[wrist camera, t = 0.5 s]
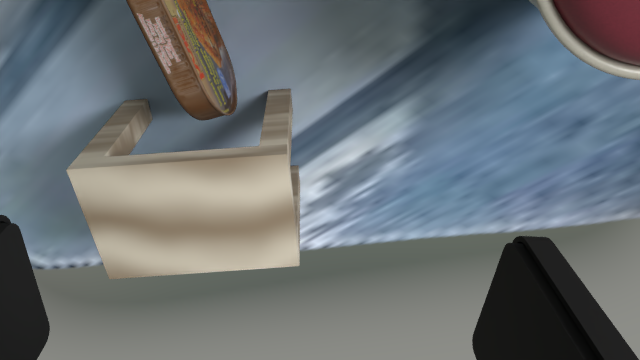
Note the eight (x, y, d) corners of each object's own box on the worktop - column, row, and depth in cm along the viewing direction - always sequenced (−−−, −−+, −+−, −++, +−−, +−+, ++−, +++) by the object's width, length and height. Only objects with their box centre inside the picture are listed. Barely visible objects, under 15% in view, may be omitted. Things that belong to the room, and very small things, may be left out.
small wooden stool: (125, 100, 43) (66, 169, 32) (290, 88, 43) (286, 154, 32) (152, 193, 48) (109, 279, 37) (299, 182, 48) (299, 265, 37)
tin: (244, 91, 43) (232, 131, 35) (211, 101, 43) (193, 142, 36) (168, -93, 35) (133, -89, 28) (130, -79, 35) (86, -72, 28)
